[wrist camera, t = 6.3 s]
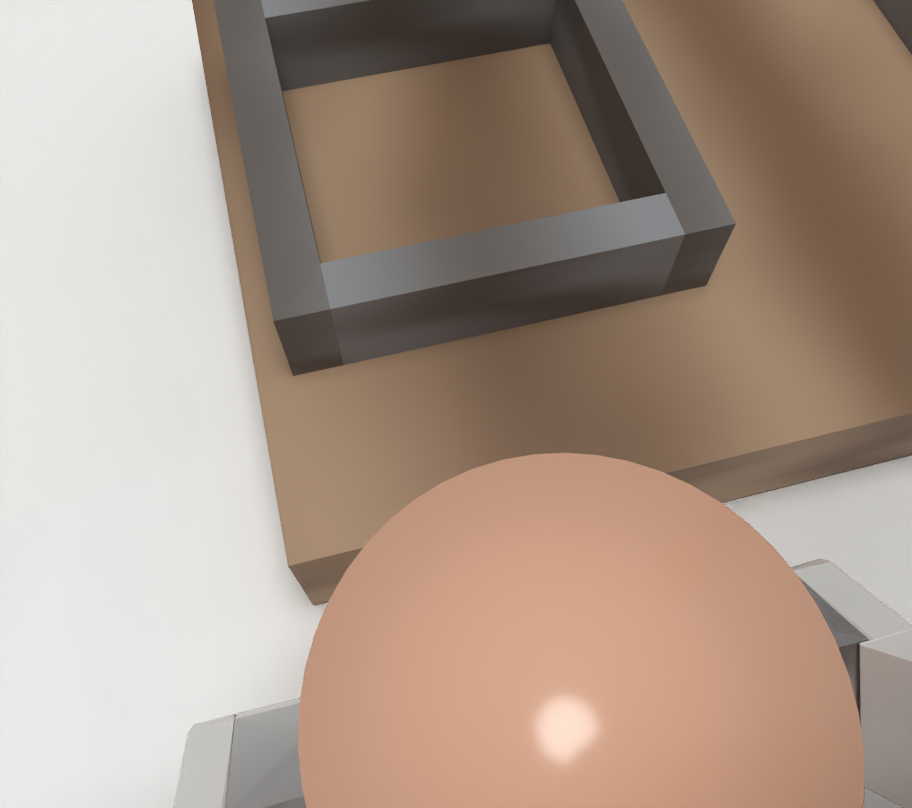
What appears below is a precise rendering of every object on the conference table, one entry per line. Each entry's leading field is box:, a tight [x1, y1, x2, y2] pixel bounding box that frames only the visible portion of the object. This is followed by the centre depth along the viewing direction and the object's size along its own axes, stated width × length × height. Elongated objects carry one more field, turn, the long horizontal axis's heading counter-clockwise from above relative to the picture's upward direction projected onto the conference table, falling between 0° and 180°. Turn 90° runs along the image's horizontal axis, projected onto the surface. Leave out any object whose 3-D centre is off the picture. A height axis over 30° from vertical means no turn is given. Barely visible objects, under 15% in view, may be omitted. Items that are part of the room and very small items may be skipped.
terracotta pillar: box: [298, 453, 865, 808], centre depth 11 cm, size 5×5×10 cm
